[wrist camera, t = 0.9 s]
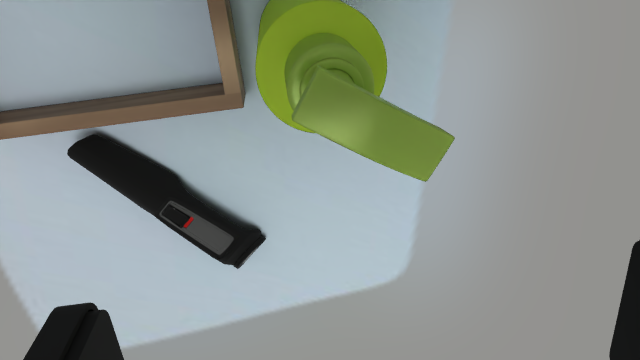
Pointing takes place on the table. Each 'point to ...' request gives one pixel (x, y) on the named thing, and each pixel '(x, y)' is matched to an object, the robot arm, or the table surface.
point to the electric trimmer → (166, 200)
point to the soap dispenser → (340, 85)
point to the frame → (143, 95)
